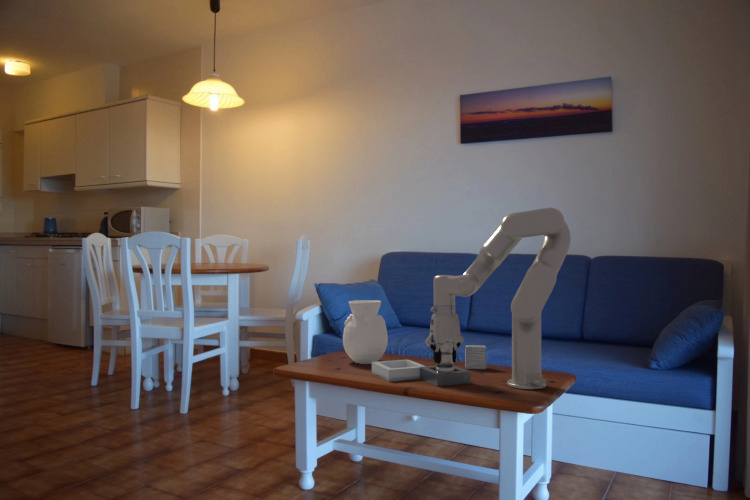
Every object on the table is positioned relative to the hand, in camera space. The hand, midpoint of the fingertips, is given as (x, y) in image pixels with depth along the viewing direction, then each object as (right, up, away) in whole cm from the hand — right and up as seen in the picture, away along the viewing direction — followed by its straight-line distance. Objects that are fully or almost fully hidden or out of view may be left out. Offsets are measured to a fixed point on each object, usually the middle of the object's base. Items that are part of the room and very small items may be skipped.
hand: (444, 361), depth 202 cm
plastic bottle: (0, -7, 0) cm, 7 cm away
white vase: (-28, -7, +35) cm, 46 cm away
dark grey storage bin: (0, -7, 0) cm, 7 cm away
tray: (-16, -7, +9) cm, 19 cm away
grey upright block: (+15, -7, +22) cm, 27 cm away
